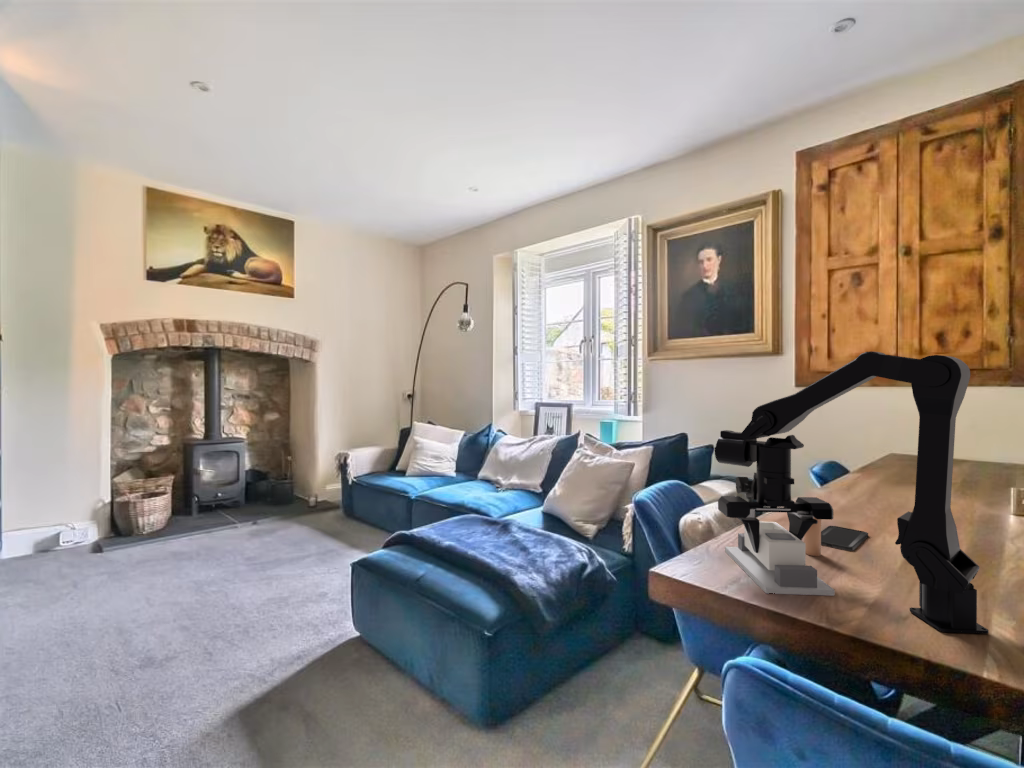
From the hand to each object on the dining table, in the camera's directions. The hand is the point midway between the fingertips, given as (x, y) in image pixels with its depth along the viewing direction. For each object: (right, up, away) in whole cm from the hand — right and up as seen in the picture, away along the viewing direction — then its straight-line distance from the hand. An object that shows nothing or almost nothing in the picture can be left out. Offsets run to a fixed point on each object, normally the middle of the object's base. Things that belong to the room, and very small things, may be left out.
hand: (773, 552), depth 91 cm
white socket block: (0, -1, 0) cm, 1 cm away
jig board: (0, -4, 0) cm, 4 cm away
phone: (+25, -4, +18) cm, 31 cm away
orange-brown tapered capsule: (+13, -3, +9) cm, 16 cm away
